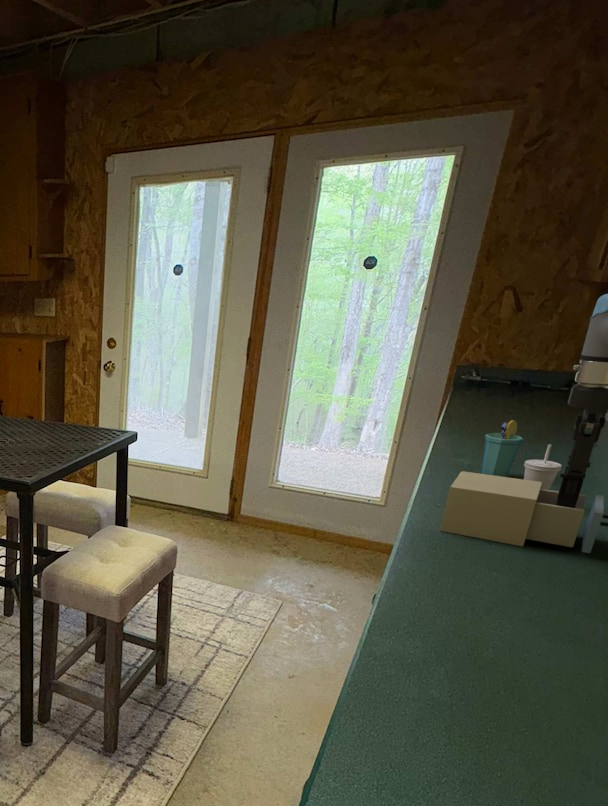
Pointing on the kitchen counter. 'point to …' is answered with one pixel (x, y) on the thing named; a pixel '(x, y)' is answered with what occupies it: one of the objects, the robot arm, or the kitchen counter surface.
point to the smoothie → (542, 470)
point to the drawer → (565, 521)
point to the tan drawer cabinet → (490, 507)
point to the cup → (501, 450)
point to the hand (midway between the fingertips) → (565, 505)
